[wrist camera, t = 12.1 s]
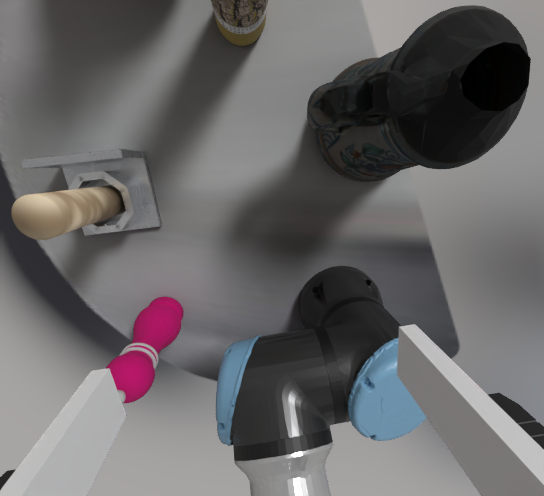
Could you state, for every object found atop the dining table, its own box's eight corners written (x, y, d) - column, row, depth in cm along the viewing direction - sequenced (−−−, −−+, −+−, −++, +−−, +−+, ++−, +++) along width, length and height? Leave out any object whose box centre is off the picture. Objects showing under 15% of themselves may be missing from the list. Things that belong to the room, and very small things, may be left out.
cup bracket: (162, 225, 44) (144, 237, 37) (88, 234, 44) (54, 248, 36) (144, 151, 41) (120, 149, 33) (63, 160, 40) (20, 159, 33)
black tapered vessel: (428, 147, 44) (638, 127, 20) (324, 207, 46) (406, 255, 22) (391, 42, 39) (611, -146, 15) (276, 114, 41) (314, 46, 17)
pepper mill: (171, 287, 48) (119, 368, 29) (193, 317, 50) (159, 412, 31) (137, 305, 48) (64, 397, 29) (160, 334, 50) (107, 438, 31)
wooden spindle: (132, 212, 42) (67, 237, 27) (103, 215, 42) (21, 242, 27) (125, 183, 41) (53, 192, 26) (95, 186, 41) (4, 196, 25)
